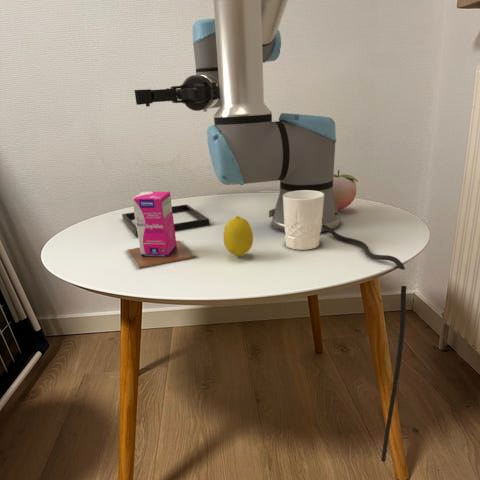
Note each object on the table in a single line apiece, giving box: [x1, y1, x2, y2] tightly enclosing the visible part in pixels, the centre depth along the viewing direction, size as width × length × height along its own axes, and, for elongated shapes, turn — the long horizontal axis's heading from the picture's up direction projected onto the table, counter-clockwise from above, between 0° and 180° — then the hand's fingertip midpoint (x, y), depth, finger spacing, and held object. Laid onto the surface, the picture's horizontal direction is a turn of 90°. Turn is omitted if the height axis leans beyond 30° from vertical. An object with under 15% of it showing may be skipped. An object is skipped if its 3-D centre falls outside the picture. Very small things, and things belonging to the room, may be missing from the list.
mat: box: [127, 240, 196, 269], centre depth 86 cm, size 11×11×1 cm
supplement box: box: [131, 191, 177, 257], centre depth 84 cm, size 6×6×12 cm
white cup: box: [283, 190, 324, 251], centre depth 85 cm, size 8×8×10 cm
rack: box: [121, 204, 210, 238], centre depth 107 cm, size 18×18×2 cm
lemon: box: [223, 215, 254, 259], centre depth 81 cm, size 6×6×8 cm
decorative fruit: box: [333, 169, 359, 212], centre depth 105 cm, size 9×8×10 cm
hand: (167, 95), depth 87 cm, fingers open, 13 cm apart
